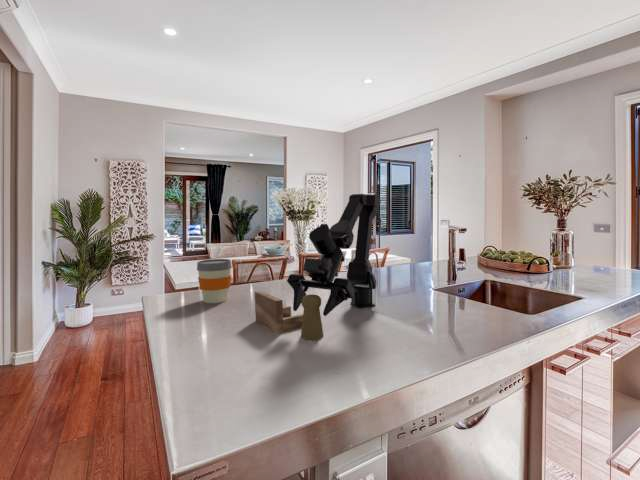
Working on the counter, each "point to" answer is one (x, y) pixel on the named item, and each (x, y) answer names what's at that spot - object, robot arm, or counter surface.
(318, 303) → the cork
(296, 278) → the robot arm
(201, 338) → the counter surface
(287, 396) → the counter surface
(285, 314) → the post bracket
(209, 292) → the reusable coffee cup
